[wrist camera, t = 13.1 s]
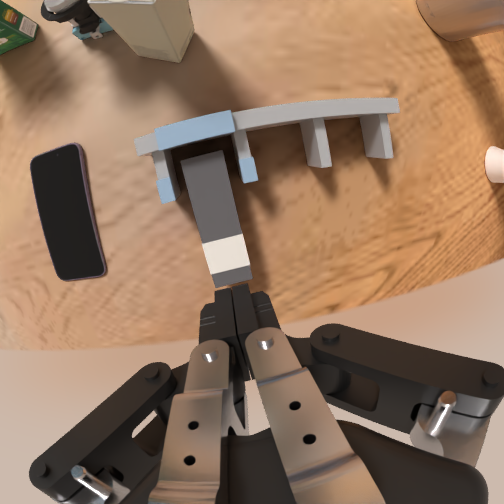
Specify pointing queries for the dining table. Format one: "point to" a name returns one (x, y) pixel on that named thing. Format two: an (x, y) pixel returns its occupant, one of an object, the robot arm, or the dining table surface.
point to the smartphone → (67, 213)
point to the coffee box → (15, 28)
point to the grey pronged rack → (265, 117)
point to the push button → (76, 17)
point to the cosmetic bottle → (495, 164)
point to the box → (150, 25)
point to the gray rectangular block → (217, 218)
